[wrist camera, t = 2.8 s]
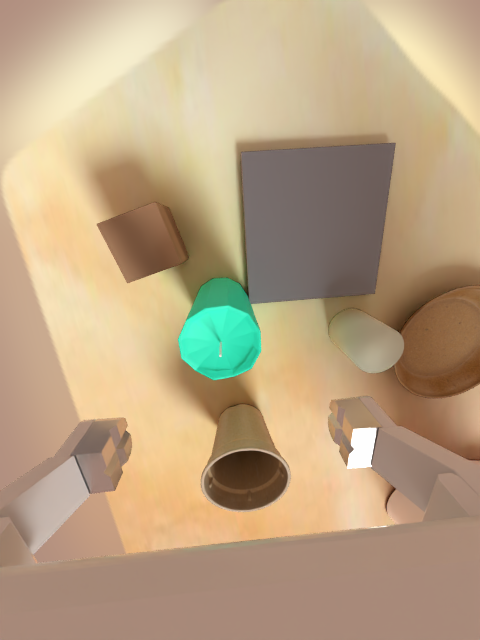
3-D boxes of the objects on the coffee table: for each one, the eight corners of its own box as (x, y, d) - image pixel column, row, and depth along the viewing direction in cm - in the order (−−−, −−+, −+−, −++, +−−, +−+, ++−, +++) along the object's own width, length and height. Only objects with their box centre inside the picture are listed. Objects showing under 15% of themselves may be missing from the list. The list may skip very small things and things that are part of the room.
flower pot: (205, 392, 31) (199, 450, 23) (277, 392, 31) (295, 447, 23) (206, 447, 34) (201, 514, 26) (271, 445, 35) (286, 510, 27)
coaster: (388, 146, 22) (395, 142, 21) (369, 291, 27) (374, 293, 26) (240, 155, 22) (241, 152, 21) (248, 301, 27) (249, 303, 26)
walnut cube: (169, 207, 23) (154, 201, 18) (189, 257, 25) (181, 263, 20) (122, 225, 23) (96, 224, 19) (145, 273, 25) (127, 283, 20)
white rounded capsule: (371, 306, 28) (408, 325, 22) (366, 344, 30) (399, 370, 24) (329, 310, 28) (356, 330, 22) (327, 348, 30) (351, 375, 24)
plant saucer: (362, 375, 32) (373, 387, 29) (416, 267, 27) (435, 271, 24) (454, 394, 34) (472, 406, 31) (519, 296, 29) (547, 302, 27)
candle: (186, 287, 26) (157, 330, 15) (238, 269, 25) (250, 299, 14) (206, 334, 28) (194, 404, 17) (255, 318, 28) (276, 378, 16)
